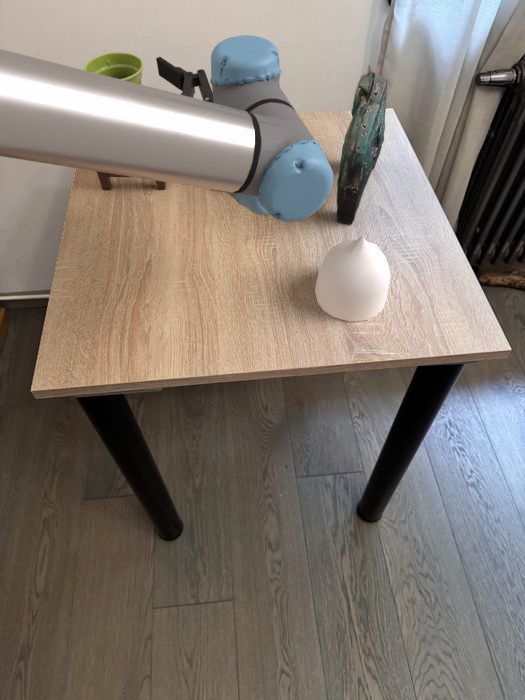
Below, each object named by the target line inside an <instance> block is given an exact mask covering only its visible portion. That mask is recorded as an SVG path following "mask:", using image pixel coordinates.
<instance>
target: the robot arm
mask: <svg viewBox="0 0 525 700" xmlns="http://www.w3.org/2000/svg"><path fill="white" fill-rule="evenodd" d="M155 61H156V66H157V71H158V72H157V73H158V76H159V77H161V78H162V79H164V80H165V81H167V82H168V83H169V84H171V85H172V86H174V87H175V88H177V89H178V90H179V91H181V93H180V94H179V93H176V92H172V91H168V90H164V89H159V88H155V87H152V86H148V85H143V84H141V85H140V84H136V83H132V82H128V81H124V80H121V79H117V78H113V77H109V76H105V75H101V74H97V73H93V72H89V71H85V70H84V69H81V68H77V67H73V66H68V65H65V64H61V63H57V62H53V61H50V60H45V59H41V58H37V57H33V56H30V55H25V54H22V53H17V52H13V51H9V50H6V49H1V48H0V157H2V158H9V159H17V160H21V161H27V162H28V161H29V162H33V163H40V164H47V165H48V164H49V165H54V166H60V167H67V168H73V169H79V170H86V171H92V172H97V171H98V172H104V173H111V174H117V175H124V176H130V177H129V178H138V179H143V180H150V181H155V180H156V181H162V182H166V183H168V184H169V183H170V184H174V185H175V184H176V185H182V186H188V187H194V188H201V189H208V190H213V191H214V190H215V191H219V192H225V193H226V194H228V195H229V196H230V197H231V198H232V199H233V200H235V202H236V203H237V204H238V205H240V206H243V207H244V208H246V209H248V210H249V211H250V212H252V213H254V214H255V215H257V216H268V215H269V216H271V217H272V218H274V219H276V221H277V220H278V221H279V222H284V223H292V222H298V221H302V220H304V219H307V218H309V217H310V216H312V215H314V214H315V213H316V212H318V211H319V210H320V209H321V208H322V207H323V206H324V204H325V203H326V201H327V199H328V198H329V197H330V194H331V193H332V190H333V187H334V172H333V169H332V167H331V164H330V162H329V161H328V159H327V157H326V155H325V153H324V149H323V147H322V145H321V144H320V143H319V141H317V140H316V139H315V137H314V136H313V135H312V133H311V132H310V130H309V129H308V127H307V126H306V124H305V123H304V121H303V120H302V118H301V117H300V116H299V114H298V113H297V111H296V110H295V108H294V106H293V104H292V103H291V102H290V100H289V98H288V97H287V95H286V93H285V92H284V91H283V90H282V88H281V84H280V78H281V75H282V70H281V66H280V53H279V50H278V47H277V46H276V45H275V44H274V43H273V42H272V41H271V40H268V39H267V38H265V37H261V36H258V35H257V36H256V35H248V34H247V35H246V34H243V35H236V36H230V37H229V38H226V39H223V40H221V41H220V42H218V43H217V44H216V45H215V46H214V48H213V49H212V51H211V55H210V82H209V79H208V77H207V73H206V71H205V70H204V69H203V68H199V69H197V71H196V73H193V71H186V70H185V69H183V68H182V67H180V66H175V65H173V64H172V63H171V62H169V61H168V60H166V59H164V58H163V57H161V56H158V57H156V58H155ZM196 87H198V89H199V92H200V96H201V98H202V99H199V98H196V97H195V94H196V89H195V88H196Z"/></svg>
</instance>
